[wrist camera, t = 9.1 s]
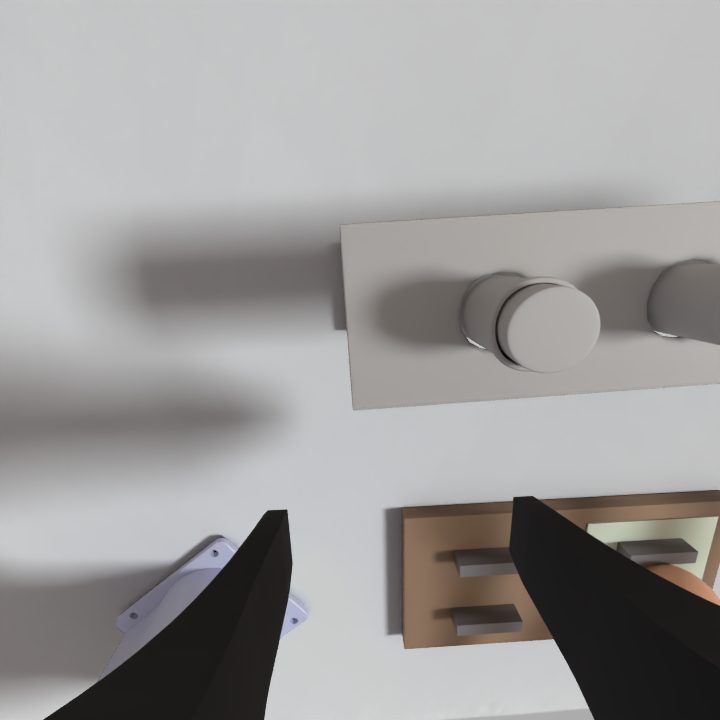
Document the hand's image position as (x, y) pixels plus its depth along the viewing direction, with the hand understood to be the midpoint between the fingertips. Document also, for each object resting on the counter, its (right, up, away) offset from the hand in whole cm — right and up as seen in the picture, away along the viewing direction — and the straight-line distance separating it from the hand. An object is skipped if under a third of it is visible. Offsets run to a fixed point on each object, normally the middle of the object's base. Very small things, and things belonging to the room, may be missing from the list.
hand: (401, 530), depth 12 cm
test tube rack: (+10, +10, +8) cm, 16 cm away
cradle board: (+11, -8, +12) cm, 19 cm away
